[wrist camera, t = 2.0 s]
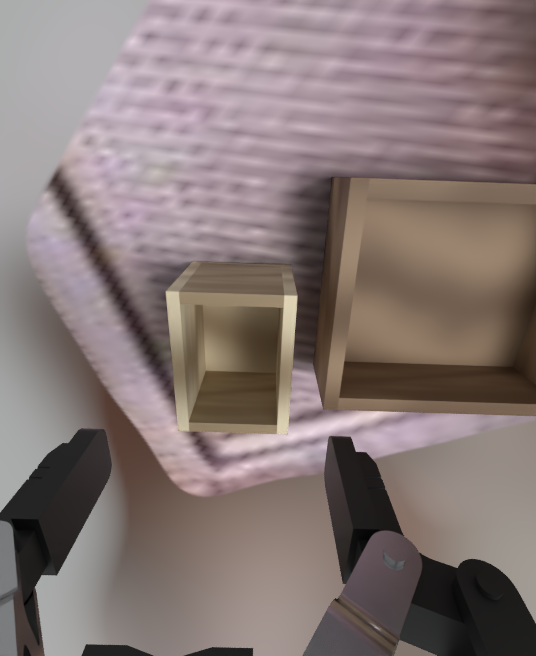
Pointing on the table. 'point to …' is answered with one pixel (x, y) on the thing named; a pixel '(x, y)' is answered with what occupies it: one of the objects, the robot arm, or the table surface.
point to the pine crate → (232, 346)
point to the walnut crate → (428, 297)
